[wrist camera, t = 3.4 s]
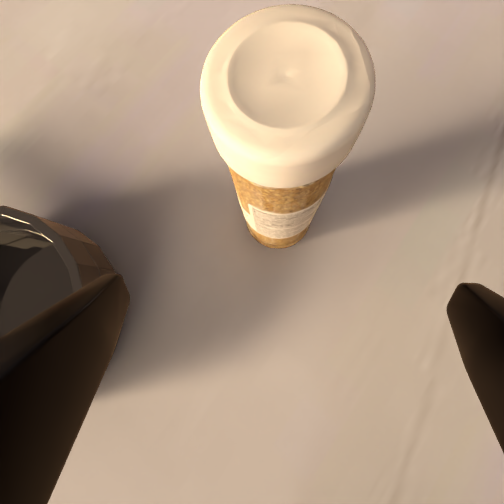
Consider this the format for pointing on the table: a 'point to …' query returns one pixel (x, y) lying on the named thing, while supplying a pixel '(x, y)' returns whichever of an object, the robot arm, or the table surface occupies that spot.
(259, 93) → the sprinkles bottle
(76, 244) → the pan
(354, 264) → the table surface
